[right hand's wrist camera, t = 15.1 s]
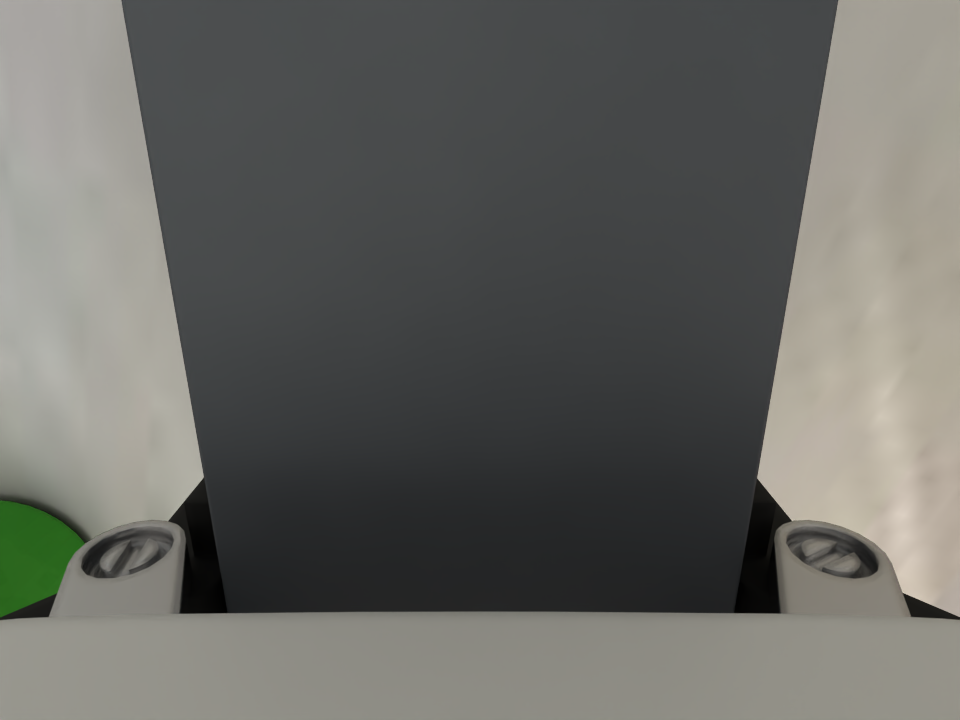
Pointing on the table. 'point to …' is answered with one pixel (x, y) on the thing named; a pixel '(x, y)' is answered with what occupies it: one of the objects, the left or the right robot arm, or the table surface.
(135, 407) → the table surface
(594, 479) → the post
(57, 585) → the potted flower
